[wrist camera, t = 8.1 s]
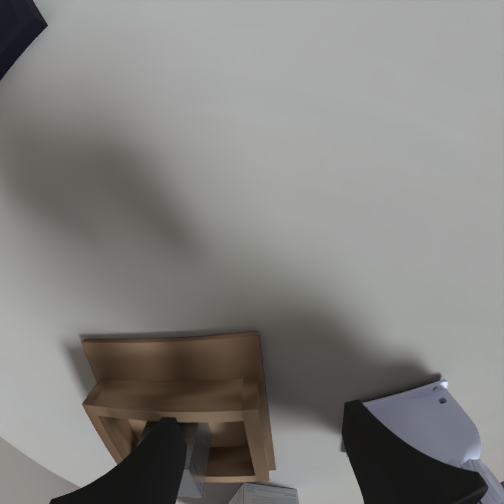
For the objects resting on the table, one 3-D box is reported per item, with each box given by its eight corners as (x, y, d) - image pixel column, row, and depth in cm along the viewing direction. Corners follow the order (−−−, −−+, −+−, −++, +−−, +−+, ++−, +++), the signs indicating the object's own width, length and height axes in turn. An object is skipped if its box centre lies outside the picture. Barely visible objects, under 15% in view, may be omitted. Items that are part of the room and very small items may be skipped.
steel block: (202, 401, 21) (188, 469, 14) (211, 434, 22) (202, 498, 15) (155, 400, 21) (129, 463, 14) (167, 433, 22) (149, 492, 15)
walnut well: (258, 331, 20) (259, 364, 16) (275, 465, 24) (277, 497, 19) (84, 339, 20) (59, 365, 16) (143, 463, 24) (133, 491, 20)
